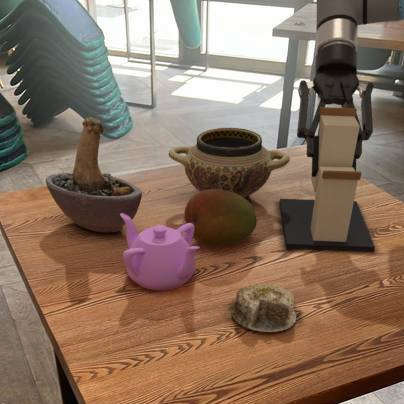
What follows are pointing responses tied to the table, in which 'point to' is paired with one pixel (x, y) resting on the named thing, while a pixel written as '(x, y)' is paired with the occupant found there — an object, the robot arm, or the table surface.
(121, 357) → the table surface
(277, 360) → the table surface
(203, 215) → the fruit
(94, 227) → the planter
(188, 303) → the table surface
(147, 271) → the teapot
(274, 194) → the table surface
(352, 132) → the cream rectangular block
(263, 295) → the cake
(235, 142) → the ceramic bowl
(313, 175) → the robot arm
